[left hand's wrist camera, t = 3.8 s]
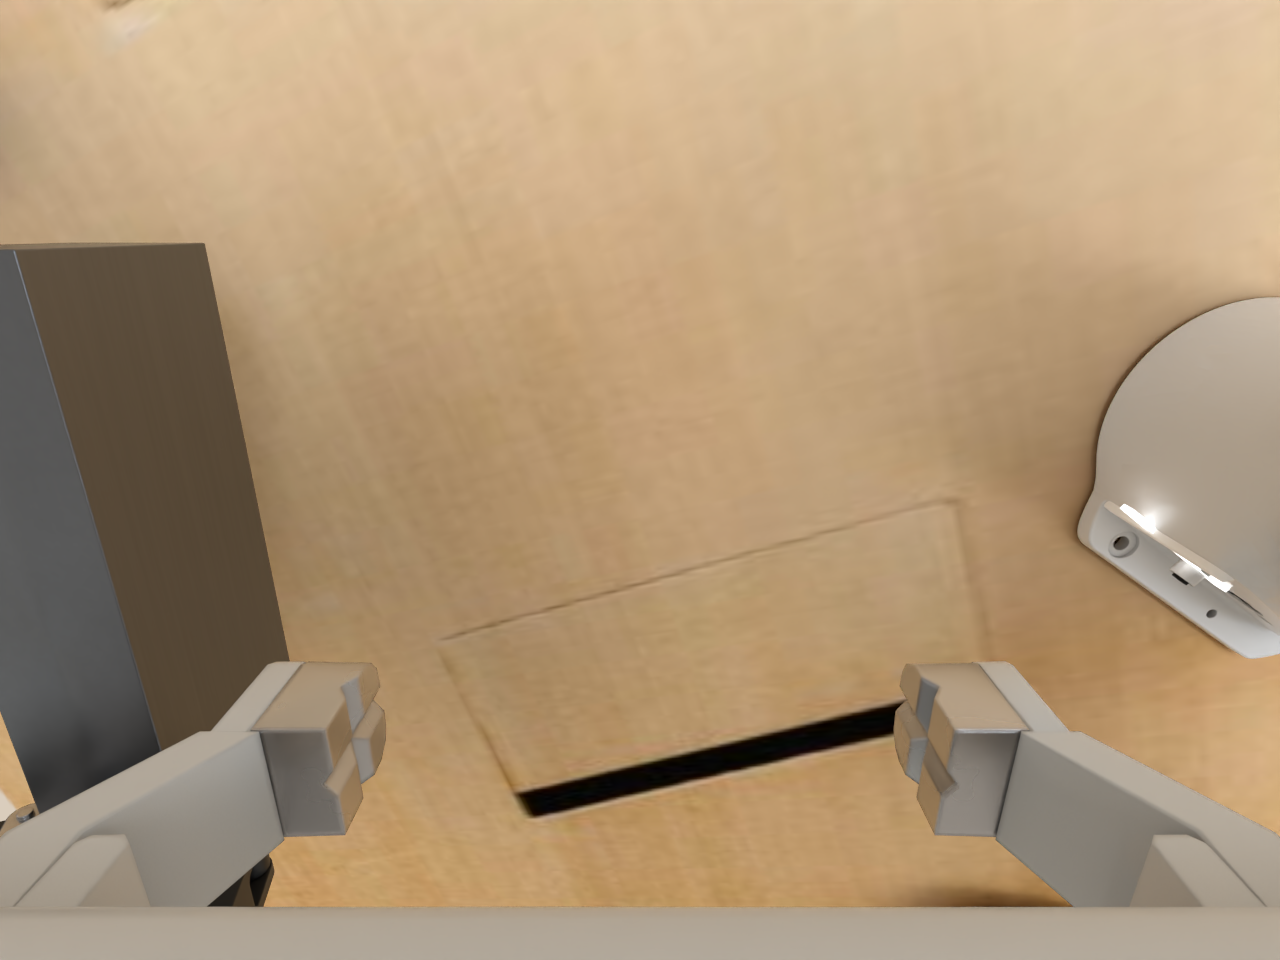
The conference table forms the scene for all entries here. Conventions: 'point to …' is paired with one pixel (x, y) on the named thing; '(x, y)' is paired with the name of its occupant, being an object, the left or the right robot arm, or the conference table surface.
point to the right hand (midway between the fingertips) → (192, 758)
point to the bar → (121, 512)
